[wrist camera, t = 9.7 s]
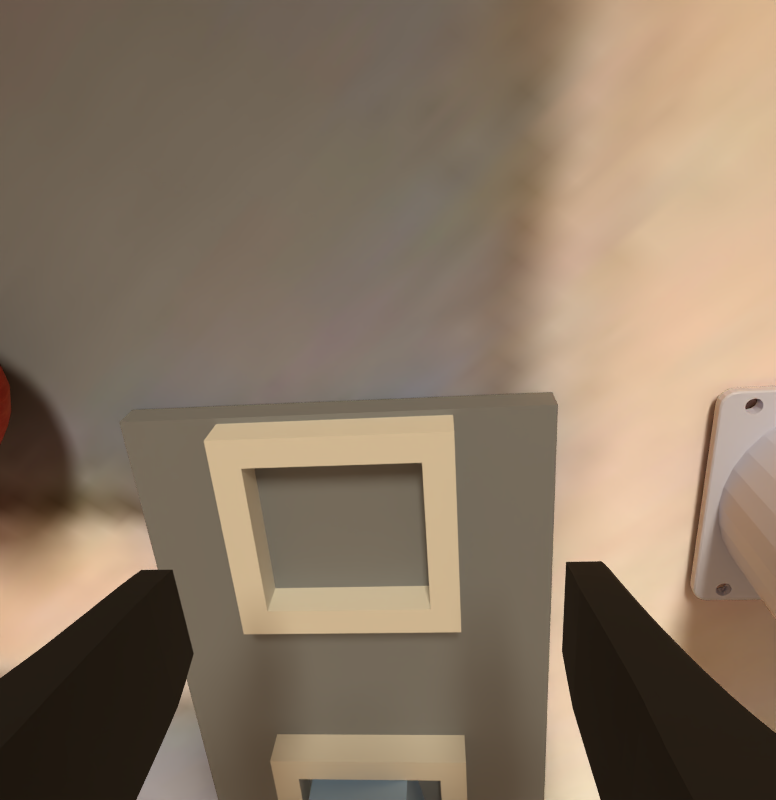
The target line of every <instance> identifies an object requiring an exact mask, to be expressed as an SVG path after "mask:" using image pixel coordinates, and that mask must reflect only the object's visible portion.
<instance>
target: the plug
mask: <svg viewBox="0 0 776 800" xmlns="http://www.w3.org/2000/svg"><path fill="white" fill-rule="evenodd" d="M309 800H425V799H424V796H423V793H422V790H421V787H420V784H419V782H418V780H335V779H313V780H312V785H311V790H310V796H309Z"/></svg>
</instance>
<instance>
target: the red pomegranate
mask: <svg viewBox="0 0 776 800" xmlns="http://www.w3.org/2000/svg"><path fill="white" fill-rule="evenodd" d="M10 415H11V398H10V385H9V383H8V380H7V378H6V376H5V374H4V372H3V370H2V367H1V365H0V444H1V442H2V439H3V437H4V434H5V432H6V429H7V427H8V423H9V419H10Z"/></svg>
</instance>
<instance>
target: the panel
mask: <svg viewBox="0 0 776 800" xmlns="http://www.w3.org/2000/svg"><path fill="white" fill-rule="evenodd" d="M557 414H558V404H557V402H556V400H555V397H554V395H553V393H552V392H546V393H522V394H499V395H475V396H451V397H427V398H403V399H380V400H356V401H332V402H308V403H284V404H261V405H237V406H213V407H189V408H165V409H142V410H132V411H131V412H130V413H129V414H128V415H127V416H126V417H125V418H124V419H122V420H121V421H120V422H119V423H120V427H121V430H122V434H123V438H124V442H125V446H126V449H127V453H128V457H129V461H130V465H131V469H132V472H133V476H134V480H135V484H136V488H137V491H138V495H139V499H140V503H141V507H142V510H143V514H144V518H145V522H146V526H147V529H148V533H149V537H150V541H151V545H152V549H153V552H154V556H155V560H156V564H157V568H158V570H173V573H174V577H175V581H176V585H177V589H178V593H179V597H180V601H181V605H182V609H183V613H184V617H185V621H186V625H187V629H188V633H189V637H190V641H191V645H192V649H193V653H194V655H193V658H192V662H191V665H190V668H189V672H188V675H187V682H188V686H189V690H190V693H191V697H192V701H193V705H194V709H195V712H196V716H197V720H198V724H199V728H200V731H201V735H202V739H203V743H204V747H205V750H206V754H207V758H208V762H209V766H210V770H211V773H212V777H213V781H214V785H215V789H216V792H217V796H218V800H309V796H310V790H311V785H312V780H313V779H335V780H418V782H419V784H420V787H421V790H422V793H423V796H424V799H425V800H544V785H545V756H546V728H547V699H548V671H549V642H550V614H551V585H552V557H553V528H554V500H555V471H556V443H557Z"/></svg>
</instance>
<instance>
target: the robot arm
mask: <svg viewBox="0 0 776 800" xmlns="http://www.w3.org/2000/svg"><path fill="white" fill-rule="evenodd" d="M755 398H757V403H756V405H755V406H753V407H752V408H749V409H745V406H746V404H747V402H748V401H750V400H751V399H755ZM724 583H725V584H726V585H725V586H723V587H721V588H717V586H719V585H720V584H724ZM690 586H691V589H692V591H693V593H694V594H695V596H696V597H697V598H699V599H701V600H762V601H763V602H764V603H765V605H766V606H767V608H768V609H769V611H770V612H771V613H772V615H773V616H774V618H775V619H776V386H764V387H740V388H731V389H727V390H726V391H724V392H722V393H721V394H720V395H719V397H718V398H717V401H716V404H715V411H714V418H713V425H712V433H711V440H710V447H709V454H708V461H707V468H706V475H705V482H704V489H703V496H702V504H701V511H700V518H699V525H698V532H697V539H696V546H695V553H694V560H693V567H692V575H691V582H690ZM562 653H563V659H564V664H565V670H566V675H567V681H568V686H569V691H570V696H571V701H572V706H573V710H574V714H575V717H576V720H577V724H578V727H579V730H580V734H581V737H582V740H583V744H584V747H585V750H586V754H587V757H588V760H589V763H590V767H591V770H592V773H593V776H594V780H595V783H596V786H597V789H598V793H599V796H600V799H601V800H776V733H775V732H774V731H772V730H771V729H770V728H769V727H767V726H766V725H765V724H764V723H762V722H761V721H760V720H759V719H758V718H756V717H755V716H754V715H753V714H751V713H750V712H749V711H748V710H747V709H746V708H744V707H743V706H742V705H741V704H740V703H739V702H738V701H737V700H735V699H734V698H733V697H732V696H731V695H730V694H729V693H728V692H727V691H725V690H724V689H723V688H722V687H721V686H720V685H719V684H718V683H717V682H716V681H715V680H714V679H713V678H711V677H710V676H709V675H708V674H707V673H706V672H705V671H704V670H703V669H702V668H701V667H700V666H699V665H698V664H697V663H696V662H695V661H694V660H693V659H692V658H691V657H690V656H689V655H688V654H687V653H686V652H685V651H684V650H683V649H682V648H681V647H680V646H679V645H678V644H677V643H676V642H675V641H674V640H673V639H672V638H671V637H670V636H669V635H668V634H667V633H666V632H665V631H664V630H663V629H662V628H661V627H660V626H659V625H658V623H657V622H656V621H655V620H654V619H653V618H652V617H651V616H650V615H649V614H648V613H647V611H646V610H645V609H644V608H643V607H642V606H641V605H640V604H639V603H638V601H637V600H636V599H635V598H634V597H633V596H632V595H631V594H630V592H629V591H628V590H627V589H626V588H625V587H624V586H623V584H622V583H621V582H620V581H619V580H618V579H617V577H616V576H615V575H614V574H613V573H612V572H611V570H610V569H609V568H608V567H607V566H606V565H605V564H604V563H603V562H602V561H598V562H566V578H565V600H564V622H563V644H562ZM193 655H194V653H193V649H192V645H191V641H190V637H189V633H188V629H187V625H186V621H185V617H184V613H183V609H182V605H181V601H180V597H179V593H178V589H177V585H176V581H175V577H174V573H173V570H141V571H139V572H138V573H137V574H135V575H134V576H132V577H131V578H130V579H128V580H127V581H126V582H124V583H123V584H122V585H121V586H119V587H118V588H117V589H115V590H114V591H113V592H112V593H110V594H109V595H108V596H107V597H105V598H104V599H103V600H102V601H100V602H99V603H98V604H97V605H95V606H94V607H93V608H92V609H90V610H89V611H88V612H87V613H85V614H84V615H83V616H82V617H80V618H79V619H78V620H76V621H75V622H74V623H73V624H71V625H70V626H69V627H68V628H66V629H65V630H64V631H63V632H61V633H60V634H59V635H57V636H56V637H55V638H54V639H52V640H51V641H50V642H49V643H47V644H46V645H45V646H43V647H42V648H41V649H39V650H38V651H37V652H35V653H34V654H33V655H31V656H30V657H29V658H27V659H26V660H24V661H23V662H22V663H20V664H19V665H18V666H16V667H15V668H14V669H12V670H11V671H10V672H8V673H7V674H5V675H4V676H3V677H1V678H0V800H136V799H137V797H138V795H139V792H140V790H141V788H142V786H143V784H144V781H145V779H146V777H147V775H148V773H149V770H150V768H151V766H152V764H153V762H154V759H155V757H156V755H157V753H158V751H159V748H160V746H161V744H162V741H163V739H164V737H165V735H166V732H167V730H168V728H169V726H170V723H171V721H172V719H173V716H174V714H175V712H176V709H177V707H178V704H179V701H180V698H181V695H182V692H183V688H184V685H185V682H186V679H187V675H188V672H189V668H190V665H191V662H192V658H193Z"/></svg>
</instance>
